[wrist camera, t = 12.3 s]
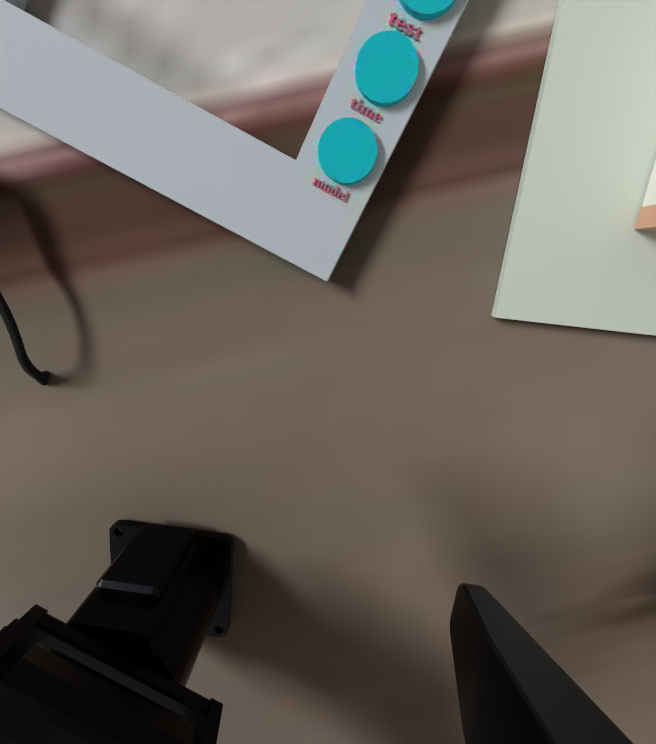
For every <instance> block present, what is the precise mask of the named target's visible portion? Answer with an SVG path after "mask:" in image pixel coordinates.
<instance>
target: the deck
mask: <svg viewBox="0 0 656 744" xmlns="http://www.w3.org/2000/svg"><path fill="white" fill-rule="evenodd" d="M635 229H639V230H649V231H656V160H655V163H654V167H653V170H652V174H651V177H650V180H649V184H648V187H647V191H646V194H645V198H644V201H643V204H642V207H641V208H640V212H639V215H638V219H637V222H636V225H635Z"/></svg>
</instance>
